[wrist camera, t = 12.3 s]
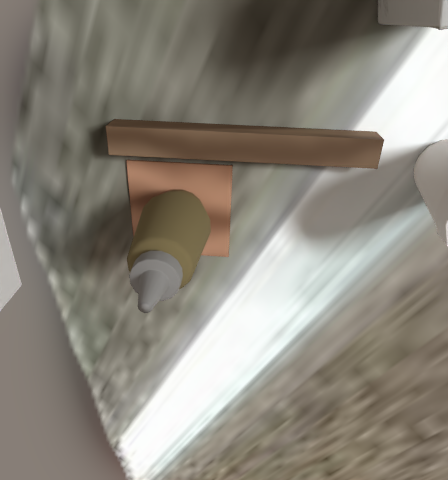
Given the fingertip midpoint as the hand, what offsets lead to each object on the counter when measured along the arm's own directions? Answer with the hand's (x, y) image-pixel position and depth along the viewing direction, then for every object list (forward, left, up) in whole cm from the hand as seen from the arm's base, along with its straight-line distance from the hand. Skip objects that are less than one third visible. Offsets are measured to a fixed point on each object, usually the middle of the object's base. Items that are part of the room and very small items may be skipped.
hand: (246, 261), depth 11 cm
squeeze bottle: (+16, -8, -35) cm, 39 cm away
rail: (+13, -1, -35) cm, 37 cm away
